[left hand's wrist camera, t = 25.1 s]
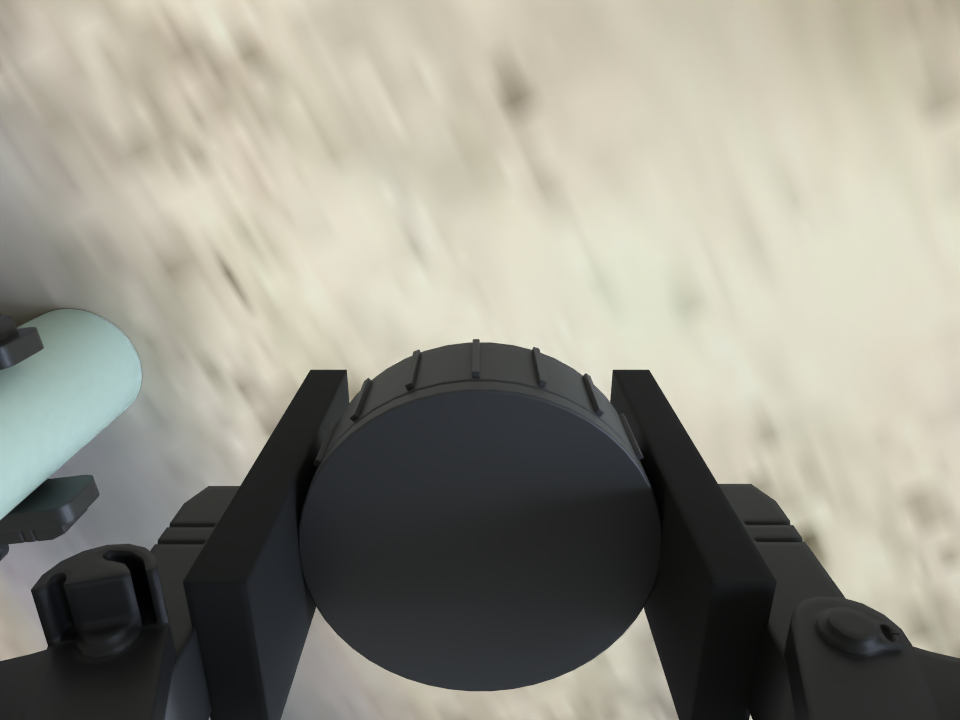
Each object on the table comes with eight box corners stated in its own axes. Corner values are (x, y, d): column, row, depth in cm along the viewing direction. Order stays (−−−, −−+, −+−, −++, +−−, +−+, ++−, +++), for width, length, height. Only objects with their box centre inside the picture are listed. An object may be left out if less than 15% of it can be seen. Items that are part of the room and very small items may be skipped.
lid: (279, 373, 11) (240, 427, 10) (620, 308, 11) (647, 352, 9) (366, 631, 13) (349, 716, 12) (655, 585, 13) (684, 666, 11)
